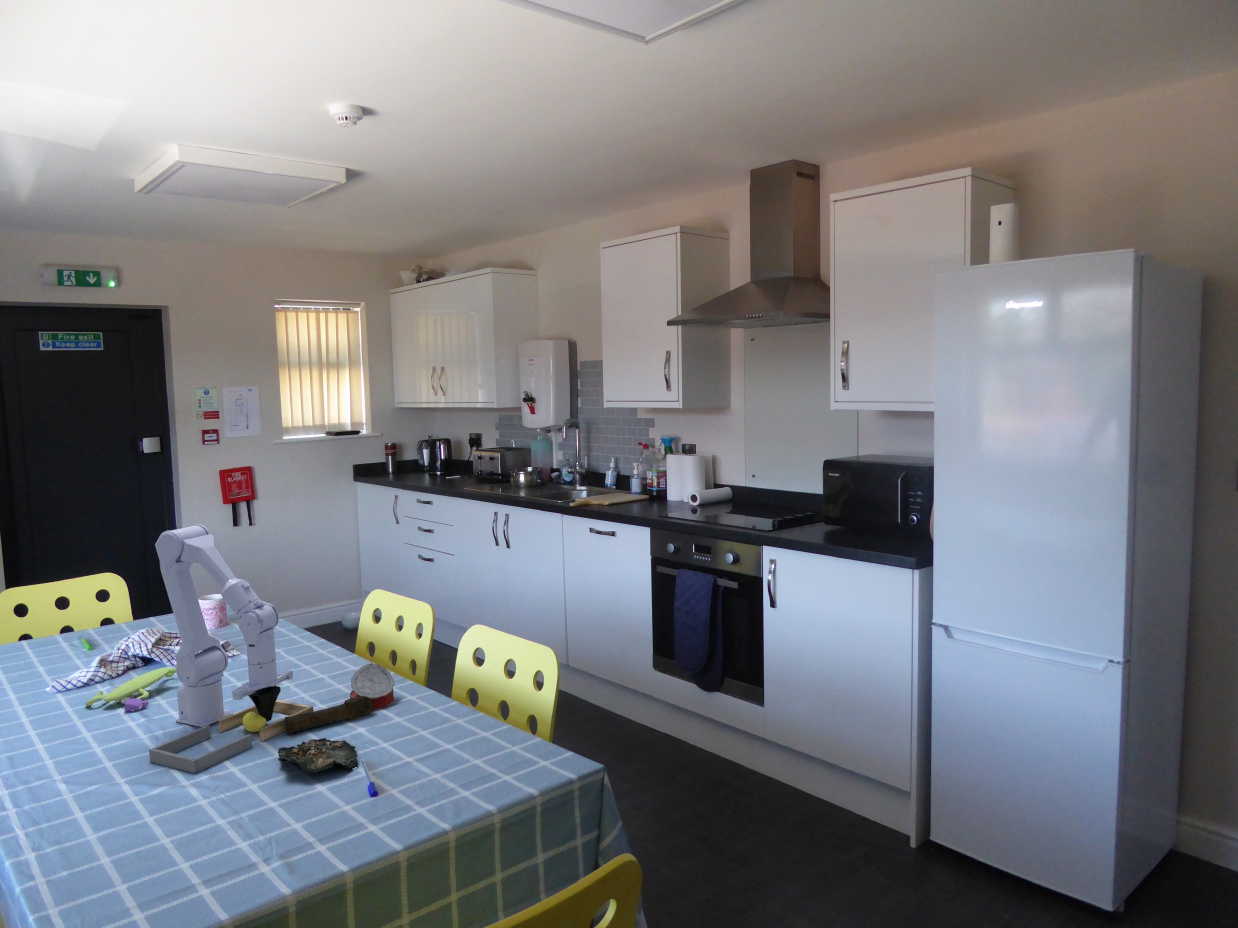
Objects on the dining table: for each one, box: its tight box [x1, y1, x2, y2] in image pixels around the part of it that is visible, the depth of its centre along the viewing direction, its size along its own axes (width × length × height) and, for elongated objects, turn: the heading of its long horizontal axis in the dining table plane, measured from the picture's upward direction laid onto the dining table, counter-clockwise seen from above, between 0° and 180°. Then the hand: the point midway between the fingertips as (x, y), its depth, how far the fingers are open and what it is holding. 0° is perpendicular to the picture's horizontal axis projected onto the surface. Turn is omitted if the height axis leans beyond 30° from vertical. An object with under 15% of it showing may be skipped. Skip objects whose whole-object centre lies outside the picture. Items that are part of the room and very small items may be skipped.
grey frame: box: [148, 725, 253, 774], centre depth 169 cm, size 14×13×2 cm
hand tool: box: [284, 696, 375, 736], centre depth 182 cm, size 19×4×5 cm, turn 122°
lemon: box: [242, 712, 267, 733], centre depth 180 cm, size 4×8×4 cm, turn 43°
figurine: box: [85, 664, 177, 712], centre depth 205 cm, size 18×27×6 cm
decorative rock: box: [277, 737, 359, 774], centre depth 164 cm, size 19×6×15 cm
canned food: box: [349, 662, 395, 711], centre depth 194 cm, size 11×10×10 cm
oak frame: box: [217, 699, 314, 742], centre depth 183 cm, size 14×14×2 cm
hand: (266, 720), depth 183 cm, fingers closed
